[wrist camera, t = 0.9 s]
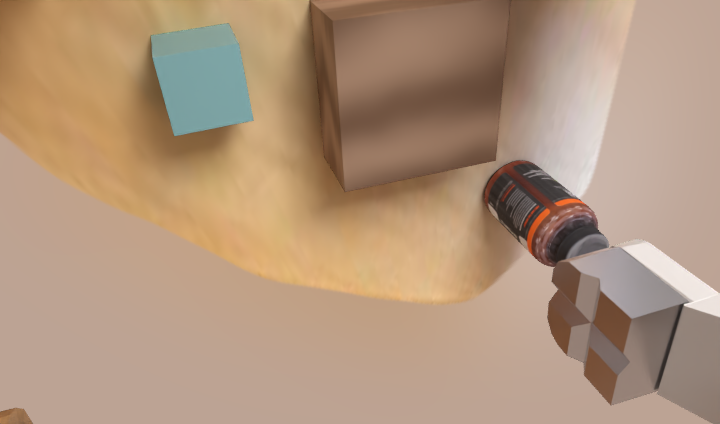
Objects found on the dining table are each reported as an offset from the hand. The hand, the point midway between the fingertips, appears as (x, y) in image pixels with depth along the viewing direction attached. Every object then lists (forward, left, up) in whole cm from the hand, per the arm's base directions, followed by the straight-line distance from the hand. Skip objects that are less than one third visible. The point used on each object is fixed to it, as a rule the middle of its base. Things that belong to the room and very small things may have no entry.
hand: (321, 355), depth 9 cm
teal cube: (+6, 0, -34) cm, 34 cm away
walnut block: (+9, +14, -34) cm, 38 cm away
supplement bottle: (+22, +25, -34) cm, 47 cm away
